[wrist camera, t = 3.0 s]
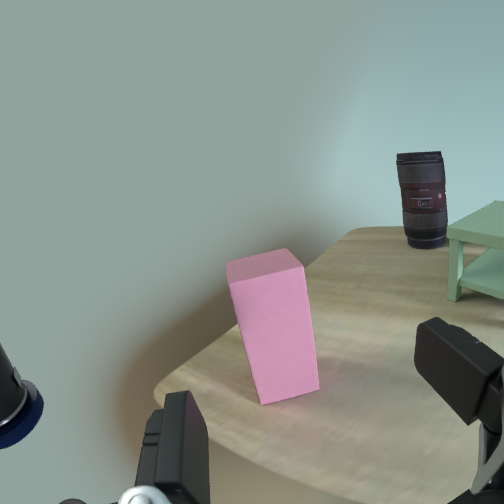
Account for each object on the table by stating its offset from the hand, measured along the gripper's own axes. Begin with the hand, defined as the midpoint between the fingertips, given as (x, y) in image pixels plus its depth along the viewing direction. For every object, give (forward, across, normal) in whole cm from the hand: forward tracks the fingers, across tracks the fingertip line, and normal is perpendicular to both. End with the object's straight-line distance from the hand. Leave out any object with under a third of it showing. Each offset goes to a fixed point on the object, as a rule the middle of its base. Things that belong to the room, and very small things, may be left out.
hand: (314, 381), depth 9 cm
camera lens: (+31, -30, +9) cm, 44 cm away
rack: (+11, -28, +9) cm, 31 cm away
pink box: (+11, 0, +9) cm, 14 cm away
